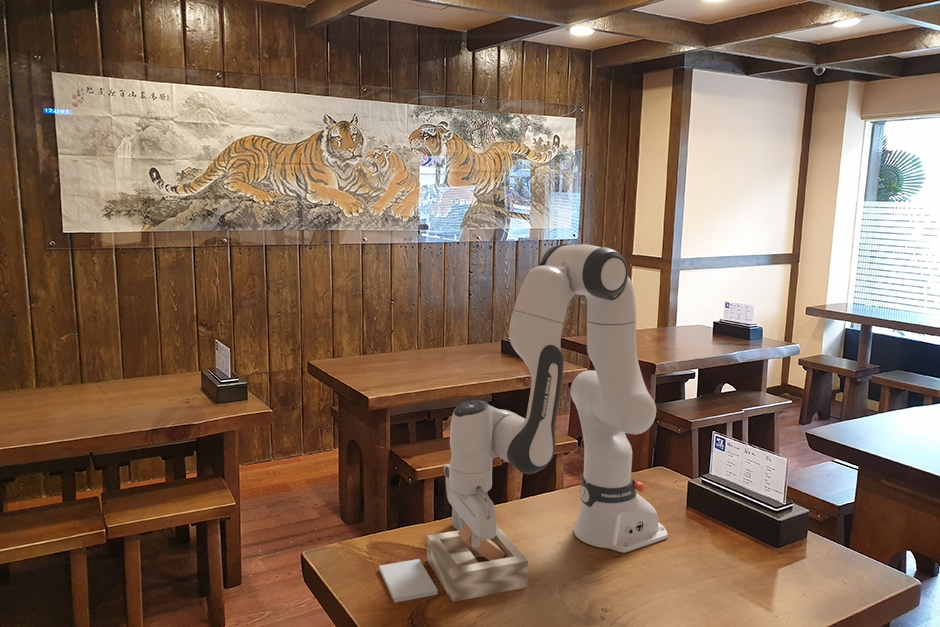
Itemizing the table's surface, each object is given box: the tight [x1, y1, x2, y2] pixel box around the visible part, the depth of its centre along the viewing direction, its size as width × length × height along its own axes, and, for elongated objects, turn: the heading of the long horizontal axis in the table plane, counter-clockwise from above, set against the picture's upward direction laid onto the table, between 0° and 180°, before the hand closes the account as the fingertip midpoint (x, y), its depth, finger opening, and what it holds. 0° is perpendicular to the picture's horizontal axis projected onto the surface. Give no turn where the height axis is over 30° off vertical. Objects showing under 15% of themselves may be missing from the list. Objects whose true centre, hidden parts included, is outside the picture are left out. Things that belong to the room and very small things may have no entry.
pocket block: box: [426, 524, 529, 603], centre depth 153 cm, size 16×17×6 cm
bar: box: [458, 524, 505, 561], centre depth 153 cm, size 10×4×3 cm
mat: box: [378, 558, 439, 603], centre depth 149 cm, size 9×13×1 cm
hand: (470, 539), depth 151 cm, fingers closed on bar, 4 cm apart
